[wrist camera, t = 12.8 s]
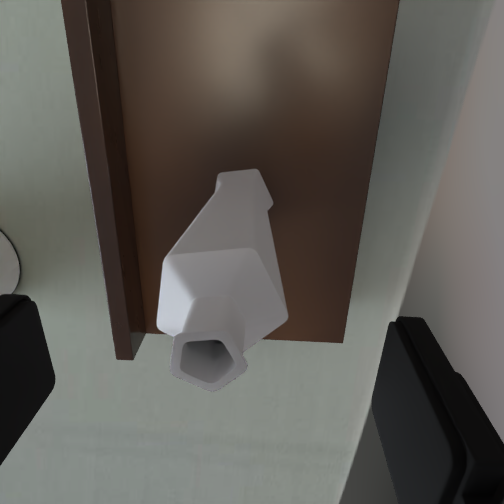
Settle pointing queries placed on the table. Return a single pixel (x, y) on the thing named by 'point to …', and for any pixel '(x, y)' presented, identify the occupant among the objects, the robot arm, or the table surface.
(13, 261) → the mug
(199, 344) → the perfume bottle
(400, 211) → the table surface
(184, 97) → the wooden display stand
